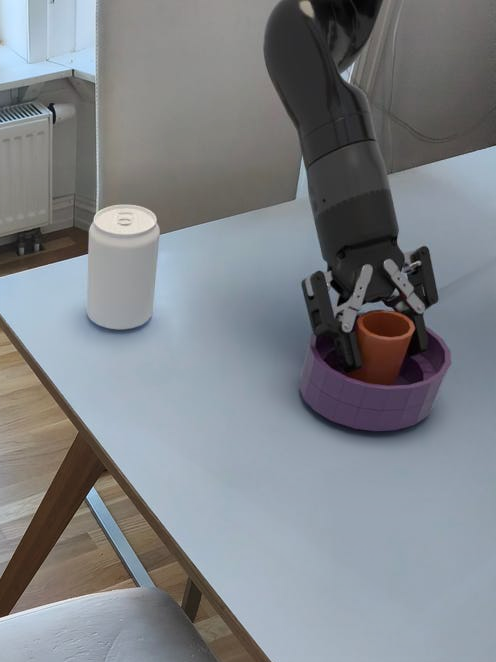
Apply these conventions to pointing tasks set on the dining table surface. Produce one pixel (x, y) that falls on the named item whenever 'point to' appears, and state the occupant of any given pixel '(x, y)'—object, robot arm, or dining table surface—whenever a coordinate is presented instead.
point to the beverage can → (122, 266)
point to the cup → (382, 346)
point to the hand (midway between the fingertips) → (386, 362)
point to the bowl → (373, 387)
